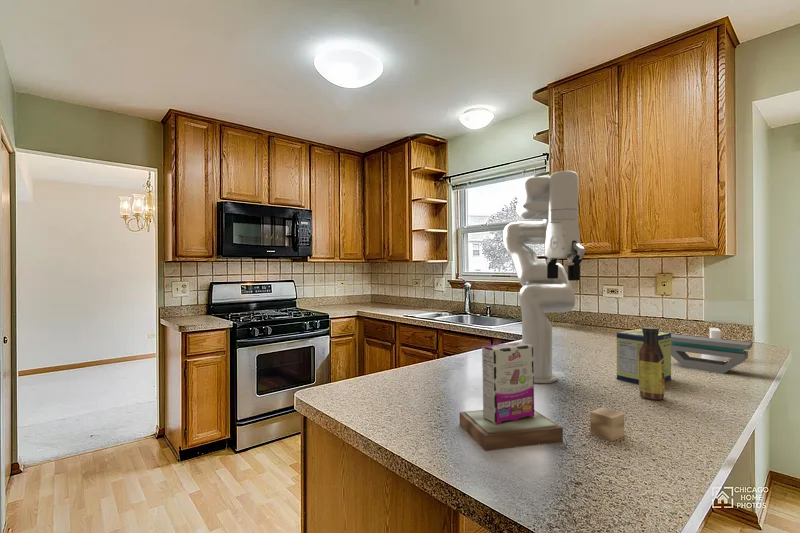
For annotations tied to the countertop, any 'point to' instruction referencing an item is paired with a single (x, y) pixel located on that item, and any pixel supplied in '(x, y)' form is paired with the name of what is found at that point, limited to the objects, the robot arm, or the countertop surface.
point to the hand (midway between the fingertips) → (562, 279)
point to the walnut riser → (510, 431)
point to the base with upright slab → (716, 334)
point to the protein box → (630, 354)
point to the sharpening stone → (708, 352)
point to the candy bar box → (508, 382)
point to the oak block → (607, 423)
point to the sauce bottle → (651, 366)
